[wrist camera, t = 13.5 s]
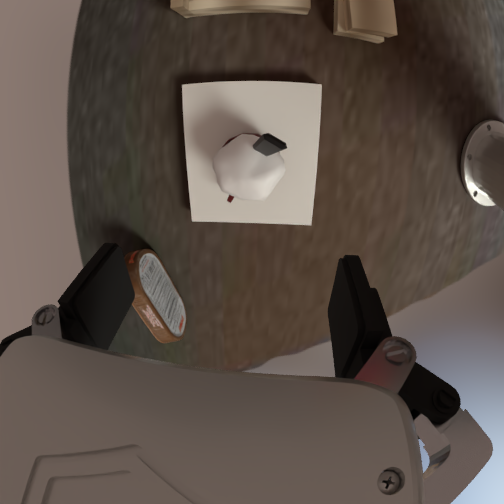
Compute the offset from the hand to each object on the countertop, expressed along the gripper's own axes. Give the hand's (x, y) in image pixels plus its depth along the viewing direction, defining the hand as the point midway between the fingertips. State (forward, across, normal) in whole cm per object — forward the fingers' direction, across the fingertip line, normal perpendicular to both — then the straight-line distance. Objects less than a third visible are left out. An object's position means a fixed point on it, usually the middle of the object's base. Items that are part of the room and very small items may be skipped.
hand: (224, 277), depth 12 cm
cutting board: (+22, +1, 0) cm, 22 cm away
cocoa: (+20, +1, 0) cm, 20 cm away
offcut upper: (+20, -10, -18) cm, 29 cm away
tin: (+22, +14, +19) cm, 32 cm away
